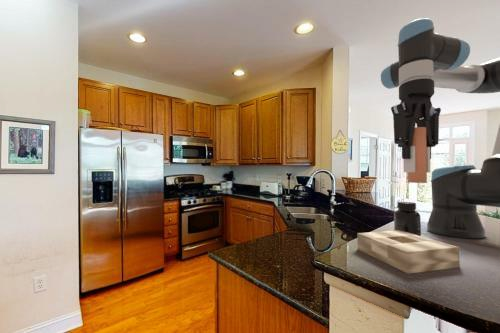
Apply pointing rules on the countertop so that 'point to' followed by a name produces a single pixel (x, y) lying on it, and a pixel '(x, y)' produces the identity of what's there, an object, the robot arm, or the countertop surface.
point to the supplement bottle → (407, 218)
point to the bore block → (409, 251)
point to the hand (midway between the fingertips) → (416, 172)
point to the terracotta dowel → (419, 157)
